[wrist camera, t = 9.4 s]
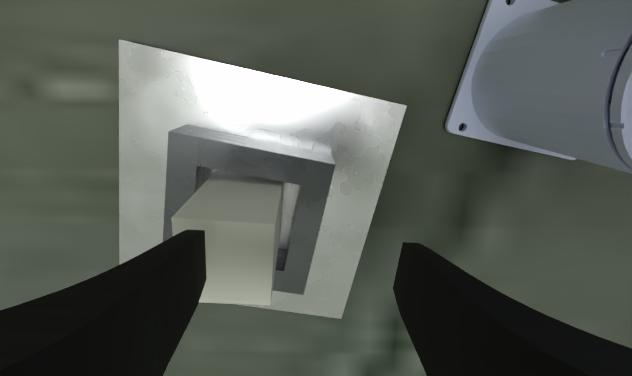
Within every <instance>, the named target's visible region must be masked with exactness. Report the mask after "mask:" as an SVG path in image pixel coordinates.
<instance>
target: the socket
mask: <svg viewBox="0 0 632 376" xmlns="http://www.w3.org/2000/svg"><path fill="white" fill-rule="evenodd" d="M406 107H407V106H406V105H402V104H397V103H393V102H389V101H384V100H380V99H376V98H371V97H367V96H363V95H358V94H354V93H350V92H345V91H341V90H336V89H332V88H328V87H323V86H319V85H315V84H310V83H306V82H302V81H297V80H293V79H289V78H284V77H280V76H276V75H271V74H267V73H263V72H258V71H254V70H250V69H245V68H241V67H236V66H232V65H228V64H223V63H219V62H215V61H210V60H206V59H202V58H197V57H193V56H189V55H184V54H180V53H176V52H171V51H167V50H163V49H158V48H154V47H150V46H145V45H141V44H137V43H132V42H128V41H123V40H119V247H120V264H122V263H124V262H126V261H128V260H130V259H132V258H134V257H136V256H138V255H140V254H142V253H144V252H146V251H147V250H149V249H151V248H153V247H155V246H157V245H158V244H160V243H162V242H164V241H166V240H167V239H169V238H171V237H173V234H172V221H171V218H172V216H173V215H174V214H175V213H176V212H177V211H178V210H179V209H180V208H181V207H182V206H183V205H184V204H185V203H186V202H187V201H188V200H189V199H190V198H191V196H192V195H193V194H194V193H195V192H196V191H197V190H198V189H199V188H200V187H201V186H202V185H203V184H204V183H205V182H206V181H207V180H208V179H209V178H210V177H211V175H212V174H213V173H214V172H215V171H216V170H222V171H228V172H233V173H238V174H244V175H249V176H254V177H260V178H265V179H270V180H276V181H281V182H284V186H283V202H282V217H281V232H280V239H279V246H278V254H277V261H276V268H275V276H274V283H273V291H272V298H271V305H249V304H237V305H244V306H252V307H259V308H266V309H274V310H281V311H288V312H296V313H303V314H310V315H318V316H325V317H332V318H339V319H341V318H342V315H343V312H344V308H345V305H346V302H347V299H348V295H349V292H350V289H351V286H352V282H353V279H354V276H355V273H356V269H357V266H358V263H359V260H360V256H361V253H362V250H363V247H364V243H365V240H366V237H367V234H368V230H369V227H370V224H371V221H372V217H373V214H374V211H375V208H376V204H377V201H378V198H379V194H380V191H381V188H382V185H383V181H384V178H385V175H386V172H387V168H388V165H389V162H390V159H391V155H392V152H393V149H394V146H395V142H396V139H397V136H398V133H399V129H400V126H401V123H402V120H403V116H404V113H405V110H406Z"/></svg>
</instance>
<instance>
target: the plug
mask: <svg viewBox="0 0 632 376" xmlns="http://www.w3.org/2000/svg"><path fill="white" fill-rule="evenodd" d="M283 186H284V182H281V181H276V180H270V179H265V178H260V177H254V176H249V175H244V174H238V173H233V172H228V171H222V170H216V171H215V172H214V173H213V174H212V175H211V177H210V178H209V179H208V180H207V181H206V182H205V183H204V184H203V185H202V186H201V187H200V188H199V189H198V190H197V191H196V192H195V193H194V194H193V195H192V196H191V198H190V199H189V200H188V201H187V202H186V203H185V204H184V205H183V206H182V207H181V208H180V209H179V210H178V211H177V212H176V213H175V214H174V215H173V216H172V218H171V221H172V234H173V236H175V235H176V234H178V233H180V232H182V231H185V230H187V229H188V230H205V252H206V282H205V285H204V288H203V291H202V294H201V297H200V300H199V302H203V303H226V304H249V305H271V298H272V291H273V283H274V276H275V268H276V261H277V254H278V246H279V239H280V232H281V217H282V202H283Z"/></svg>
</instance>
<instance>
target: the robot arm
mask: <svg viewBox="0 0 632 376" xmlns="http://www.w3.org/2000/svg"><path fill="white" fill-rule="evenodd" d="M462 123H463V125H464V127H463V129H462V130H460V131H459V125H460V124H462ZM445 129H446V131H447V132H449V133H452V134H457V135H461V136H466V137H470V138H475V139H479V140H484V141H488V142H493V143H497V144H502V145H506V146H511V147H515V148H520V149H524V150H529V151H533V152H538V153H542V154H547V155H551V156H556V157H560V158H565V159H569V160H575V159H580V160H584V161H587V162H591V163H594V164H598V165H601V166H605V167H609V168H612V169H616V170H619V171H623V172H627V173H630V174H632V0H571V1H567V2H564V3H558V2H554V1H551V0H511V2H510V4H509V5H507V4H506V0H489V2H488V4H487V7H486V10H485V13H484V16H483V18H482V21H481V24H480V27H479V30H478V33H477V35H476V38H475V41H474V44H473V47H472V49H471V52H470V55H469V58H468V61H467V63H466V66H465V69H464V72H463V75H462V78H461V80H460V83H459V86H458V89H457V92H456V94H455V97H454V100H453V103H452V106H451V108H450V111H449V114H448V117H447V120H446V123H445ZM205 282H206V252H205V230H188V229H187V230H185V231H182V232H180V233H178V234H176V235H175V236H173V237H171V238H169V239H167V240H166V241H164V242H162V243H160V244H158V245H157V246H155V247H153V248H151V249H149V250H147V251H146V252H144V253H142V254H140V255H138V256H136V257H134V258H132V259H130V260H128V261H126V262H124V263H122V264H120V265H118V266H116V267H114V268H112V269H110V270H108V271H106V272H104V273H101V274H99V275H97V276H95V277H92V278H90V279H88V280H85V281H83V282H80V283H78V284H75V285H73V286H70V287H68V288H65V289H63V290H60V291H57V292H54V293H51V294H48V295H46V296H43V297H40V298H37V299H34V300H31V301H28V302H25V303H22V304H20V305H17V306H13V307H10V308H7V309H4V310H0V376H163V374H164V372H165V370H166V368H167V365H168V363H169V361H170V359H171V357H172V355H173V353H174V351H175V349H176V347H177V345H178V344H179V342H180V340H181V338H182V336H183V334H184V332H185V330H186V328H187V326H188V324H189V322H190V320H191V317H192V315H193V313H194V311H195V309H196V307H197V305H198V303H199V300H200V297H201V294H202V291H203V288H204V285H205ZM393 290H394V294H395V298H396V301H397V305H398V308H399V311H400V314H401V317H402V319H403V322H404V324H405V326H406V329H407V331H408V333H409V335H410V338H411V340H412V342H413V345H414V347H415V349H416V351H417V354H418V356H419V358H420V361H421V363H422V365H423V367H424V370H425V372H426V375H427V376H632V349H631V348H628V347H626V346H623V345H620V344H617V343H614V342H612V341H609V340H606V339H603V338H601V337H598V336H595V335H593V334H590V333H588V332H585V331H583V330H580V329H577V328H575V327H573V326H570V325H568V324H566V323H563V322H561V321H559V320H556V319H554V318H552V317H549V316H547V315H545V314H543V313H540V312H538V311H536V310H534V309H532V308H530V307H528V306H526V305H524V304H522V303H520V302H518V301H516V300H514V299H512V298H510V297H508V296H506V295H504V294H502V293H501V292H499V291H497V290H495V289H494V288H492V287H490V286H488V285H487V284H485V283H483V282H481V281H480V280H478V279H476V278H475V277H473V276H471V275H470V274H468V273H467V272H465V271H463V270H462V269H460V268H459V267H457V266H456V265H454V264H453V263H451V262H449V261H448V260H446V259H445V258H443V257H442V256H440V255H439V254H437V253H435V252H434V251H432V250H431V249H429V248H427V247H425V246H424V245H422V244H419V243H406V242H403V245H402V249H401V254H400V258H399V263H398V268H397V272H396V277H395V281H394V286H393Z"/></svg>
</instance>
